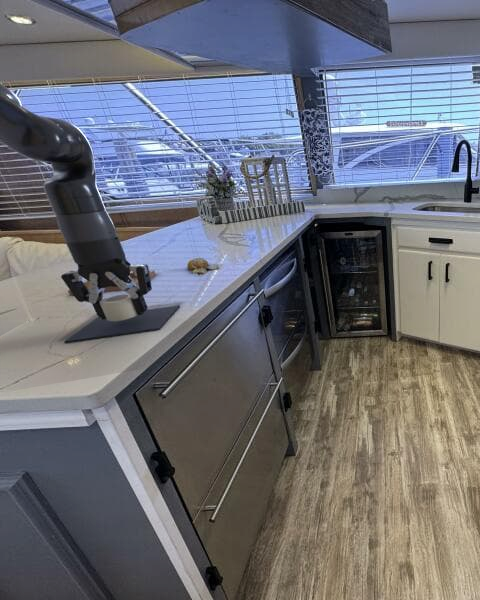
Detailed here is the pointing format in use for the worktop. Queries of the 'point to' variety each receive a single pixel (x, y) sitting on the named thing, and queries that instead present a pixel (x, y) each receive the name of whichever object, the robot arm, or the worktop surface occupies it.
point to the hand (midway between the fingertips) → (124, 315)
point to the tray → (109, 289)
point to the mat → (124, 325)
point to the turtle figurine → (199, 266)
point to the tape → (118, 307)
